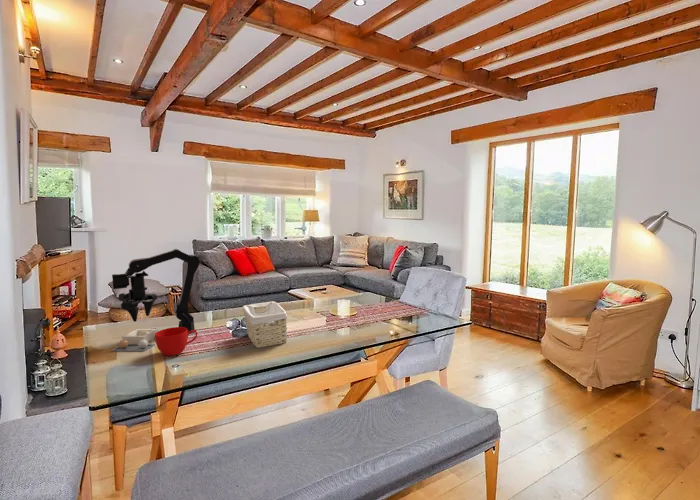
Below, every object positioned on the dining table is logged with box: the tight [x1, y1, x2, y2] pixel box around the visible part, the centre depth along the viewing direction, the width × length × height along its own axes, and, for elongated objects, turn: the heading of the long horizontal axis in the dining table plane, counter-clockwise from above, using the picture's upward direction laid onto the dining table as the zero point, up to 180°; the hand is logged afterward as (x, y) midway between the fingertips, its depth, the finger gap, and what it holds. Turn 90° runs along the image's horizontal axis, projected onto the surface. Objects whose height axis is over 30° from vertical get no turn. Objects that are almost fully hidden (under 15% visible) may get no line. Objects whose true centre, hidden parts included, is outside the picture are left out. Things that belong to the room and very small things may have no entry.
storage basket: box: [242, 300, 288, 349], centre depth 191 cm, size 24×16×15 cm
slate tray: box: [111, 343, 156, 353], centre depth 186 cm, size 16×8×1 cm, turn 82°
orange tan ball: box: [118, 339, 129, 348], centre depth 186 cm, size 4×4×4 cm
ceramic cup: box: [154, 326, 198, 357], centre depth 178 cm, size 13×17×10 cm
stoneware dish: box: [121, 328, 159, 344], centre depth 197 cm, size 11×11×4 cm
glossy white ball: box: [138, 339, 149, 349], centre depth 185 cm, size 4×4×4 cm
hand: (141, 318), depth 195 cm, fingers open, 9 cm apart
